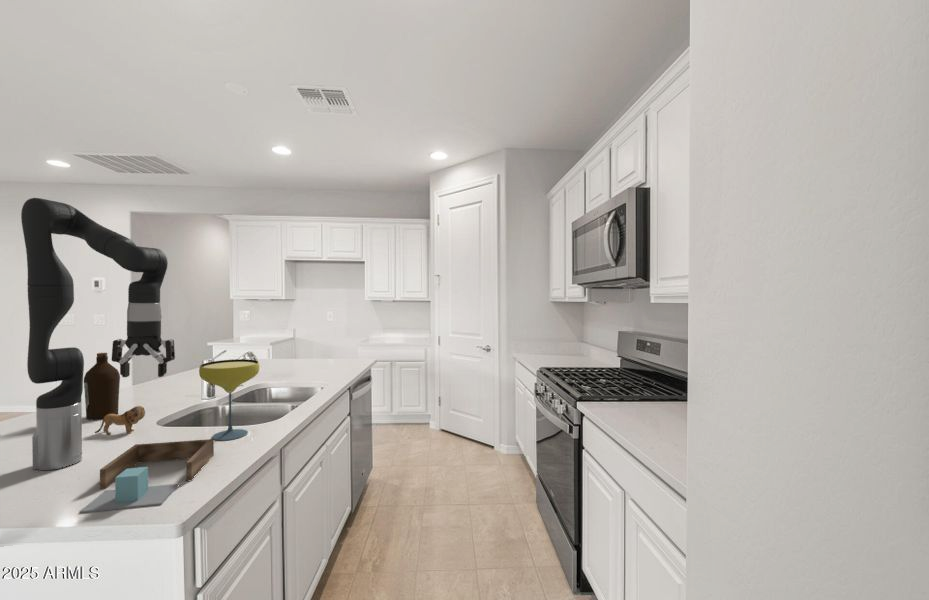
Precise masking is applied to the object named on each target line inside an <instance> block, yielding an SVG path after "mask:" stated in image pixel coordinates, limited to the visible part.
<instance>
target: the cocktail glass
mask: <svg viewBox="0 0 929 600" xmlns="http://www.w3.org/2000/svg"><path fill="white" fill-rule="evenodd" d="M259 371H260V363H259V361H258V360H256V359H255V360H254V359H246V358H245V359H244V358H243V359H242V358H241V359H238V358H237V359H224V360H223V359H222V360H216V361H210V362H206V363H202V364H201V365H199V369H198V372H199V373H198V374H199V377H200V378H201V379H202V380H203V381H205V382H207V383H209V384H212V385H214V386H217V387H220V388H222V389H224V391H225V392H226V393H228V396H229V397H228V403H229V404H228V410H229V411H228V427H227V430H223V431H222V430H221V431H218V432H216V433H214V434H212V436H211V439H214V441H217V442H218V441H220V442H222V441H223V442H224V441H232V440H237V439H240V438H243V437H245V436H247V435H248V430H246V429H244V428H235V429H233V423H232V393H234V392H235V391H236V389H237V388H238V387H240V386H241V385H242V384H245V383H247V382H248V381H250V380H251V379H253V378H255V377H256V376H257V375H258V373H259Z"/></svg>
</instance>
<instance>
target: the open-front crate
mask: <svg viewBox="0 0 929 600" xmlns="http://www.w3.org/2000/svg"><path fill="white" fill-rule="evenodd" d="M214 441H215V440H214V439H212V438H209V439H208V438H207V439H196V440H184V441H183V440H182V441H168V442H152V443H140V444H134V445H133V446H132V447H130V448H128V449H127V450H126V451H124V452H123V453H121V454H120V455H118V456H117V457H116V458H114V459H113V460H112V461H110V462H108V463H107V464H106V465H104V466H103V467H101V468H100V469H99V489H100V490H106V489H107V488H109V487H110V486H111V485H112V484H113V483H115V482H114V481H115V478H116V477H117V476H118V475H119V474H121V473H122V472H123V471H124V470H126V469H128V468H134V467H135V466H136V465H137V464H140V463H139V462H141V463H150V462H149V461H153V462H162V461H163V462H165V461H174V460H175V461H176V459H178V460H187V462H186V463H185V464H186V467H185V468H186V470H185V471H186V473H185V474H186V482H188V481H187V480H192V479H193V478H194V479H195V477H196V476H197V475H198V474H199V473H200V472H201V470H202V469H203V468H204V467H205V466H206V465H207V464H208V463H209V461H210V460H211V459H212V458H213V457H214V456H215V455H214V454H215V453H214V448H215V447H214V446H215V445H214ZM211 457H212V458H211ZM187 458H190V459H187ZM210 458H211V459H210ZM209 459H210V460H209ZM135 464H136V465H135ZM205 464H206V465H205ZM134 465H135V466H134ZM204 465H205V466H204ZM203 466H204V467H203ZM202 467H203V468H202ZM201 468H202V469H201ZM199 471H200V472H199ZM198 472H199V473H198ZM197 473H198V474H197ZM196 474H197V475H196ZM195 475H196V476H195ZM194 476H195V477H194ZM194 479H193V480H194ZM193 480H192V481H193ZM109 485H110V486H109Z"/></svg>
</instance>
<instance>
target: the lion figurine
mask: <svg viewBox="0 0 929 600" xmlns="http://www.w3.org/2000/svg"><path fill="white" fill-rule="evenodd" d="M145 415H146V410H145V407H143V406H141V405H137V406H134V407H133V408H131V409H128V410H127V411H125V412H123V413H122V414H118V415H116V414H108V415H106V416H105V417H104V419H102V422H101V424H100V428H98V429H97V430H95V431H94V434H99V432H100V431H101V430H103V432H104V433H105V434H106V436H110V435H111V434H112V432H110V431H109V428H110V426H112V425H113V424H114V425H116V426H124V427H125V433H126V435H130V434H132V432H134V429H133V425H136V424H138V423H139V421H141V420H142V419H144V417H145Z"/></svg>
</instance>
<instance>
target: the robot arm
mask: <svg viewBox="0 0 929 600" xmlns="http://www.w3.org/2000/svg"><path fill="white" fill-rule="evenodd" d="M20 215H21V218H20V219H21V227H22V234H23V240H24V245H25V252H26V265H27V266H26V267H27V284H26V286H27V301H28V304H27V305H28V318H29V319H28V321H29V329H28V330H29V332H28V333H29V335H28V336H29V337H28V347H27V349H28V350H27V362H26V364H27V365H26V366H27V374H28V378H29V380H30V382H32V383H34V384H37V385H38V384H39V385H40V384H45V383H46V384H47V383H54V382H60V384H59V385H57V386H56V387H54V388H53V389H52V390H49V391H47V392H45V393H42V394H41V395H38V397H37V398H36V401H35V405H36V406H35V409H36V412H35V413H36V414H35V415H36V417H35V418H36V420H35V421H36V433H34V434H33V435H32V437H31V438H32V440H31V441H32V442H31V443H32V444H31V447H32V449H31V450H32V453H31V454H32V470H38V471H39V470H40V471H51V470H57V469H63V468H66V466H67V467H70V466H73V465H76V464H78V463H79V461H80V460H81V459H82V460H83V448H82V447H83V438H82V436H83V434H82V432H83V431H82V430H83V427H82V426H83V424H82V423H83V422H82V421H83V420H82V417H83V416H82V414H83V413H82V395H83V388H84V369H85V366H84V365H85V360H84V354H83V352H82V351H81V349H79V347H78V348H77V347H75V346H74V347H62V348H61V347H60V348H51V349H50V348H49V347H50V341H51V339H52V335H53V332H54V330H55V329H56V328H57V326H58V325H59V323H61V321H62V320H63V319H64V318H65V316H66V315H67V313H69V311H70V310H71V308H72V307H73V304H74V301H75V291H74V290H75V288H74V279H73V276H72V275H71V273H70V271H69V270H68V269H67V267H66V266H65V264H64V263H63V262H62V260H61V259H60V258H59V256H58V255H57V253H56V251H55V248H54V246H53V245H54V243H53V238H52V234H53V235H54V234H55V235H66V236H70V237H75V238H78V239H81V240H84V241H85V242H86V244H87V245H88V247H90V249H92V250H93V251H95V252H96V253H99V254H100V255H103V256H105V257H107V258H110V259H112V261H114V262H115V263H116V264H118V265H119V266H120V267H121V268H122V269H124V270H126V271H130V272H132V273H142V275H141V278H140V279H139V280H135V281H132V282H130V283H129V285H128V289H127V291H128V294H127V295H128V296H127V297H128V298H127V299H128V301H127V303H128V305H127V308H126V309H127V310H126V339H122V338H118V339H114V340H112V348H111V349H112V350H111V362H114V363H115V362H116V363H118V364H119V365H120V366H119V369H120V371H119V374H120V376H122V378H128V377H130V373H131V372H130V371H131V367H130V365H131V364H130V361H131V359H132V358H134V357H135V356H146V357H147V356H152V357H153V358H154V359H155V360H156V361H157V362H158V364H157V377H158V378H163V377H164V376H165V375H166V374H167V365H168V362H171V361H173V360H175V358H176V355H175V353H176V352H175V340H174V339H173V338H172V339H170V338H169V339H165V340H164V339H163V340H162V337H161V336H162V317H163V315H162V307H161V287H162V284H163V283H164V279H165V276H166V274H167V270H168V257H167V255H166V254H165V252H164V251H163V250H161V249H159V248H156V247H148V246H147V247H145V246H139V245H136V243H135V242H134V241H133V240H132V239H130V238H128V237H127V236H125V235H123V234H120V233H118V232H116V231H113V229H109V228H107V227H105V226H103V225H101V224H99V223H97V222H96V221H94V220H93V219H92V218H90V217H89V216H87V215H86V214H84V213H83V212H81V211H80V210H79V209H77V208H75V207H74V206H72V205H71V204H67V203H65V202H61V201H55V200H50V199H45V198H40V197H38V198H37V197H31V198H28V199H26V200H25V202H24V204H23V205H22V208H21V213H20ZM162 345H163V348H165V354H164V352H163V351H162V349H161V346H162ZM125 346H126V347H127V348H128V349H127V350H126V352H125V353H124V354H123V348H124V347H125ZM82 460H81V461H82ZM81 461H80V462H81ZM77 462H78V463H77ZM75 463H76V464H75ZM72 464H73V465H72ZM69 465H70V466H69ZM62 467H63V468H62Z"/></svg>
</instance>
